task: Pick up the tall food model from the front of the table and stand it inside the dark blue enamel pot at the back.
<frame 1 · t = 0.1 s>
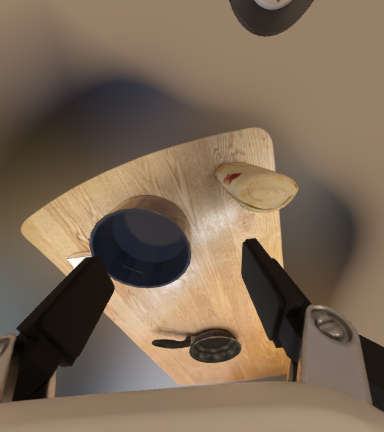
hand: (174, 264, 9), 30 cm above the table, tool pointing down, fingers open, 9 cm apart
pot: (151, 232, 43), on the table
frying pan: (201, 335, 70), on the table
food model: (229, 173, 36), on the table
container: (95, 261, 48), on the table
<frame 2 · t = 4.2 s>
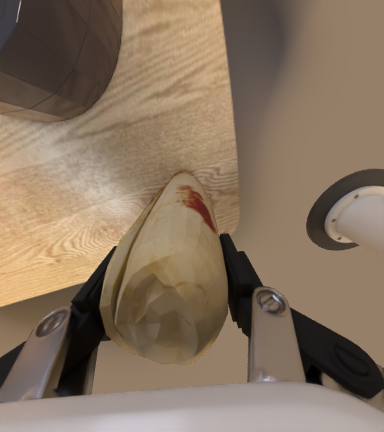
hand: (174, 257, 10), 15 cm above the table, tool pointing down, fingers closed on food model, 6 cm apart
food model: (182, 195, 24), on the table, touching gripper
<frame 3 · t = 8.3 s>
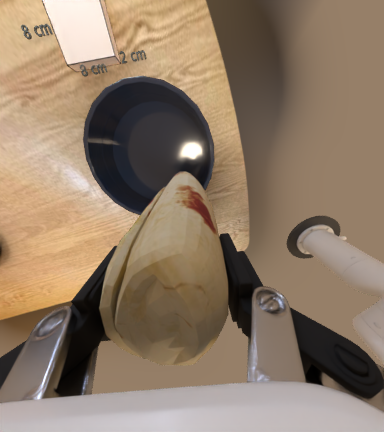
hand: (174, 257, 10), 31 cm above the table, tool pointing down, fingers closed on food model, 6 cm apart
pot: (160, 158, 36), on the table
food model: (182, 195, 24), point 16 cm above the table, touching gripper
container: (90, 42, 27), on the table
when the fingers open (16 cm above the table, at t = 12.4 s): food model stays where it is, resting on pot.
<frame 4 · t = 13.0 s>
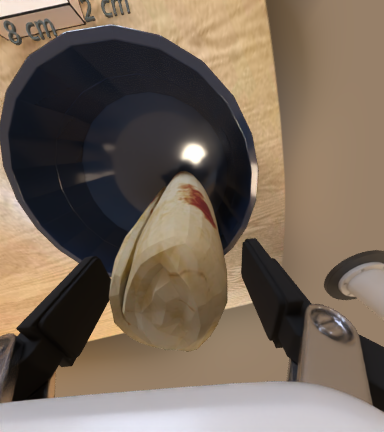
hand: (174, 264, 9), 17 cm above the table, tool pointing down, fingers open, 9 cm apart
pot: (158, 181, 23), on the table
food model: (183, 194, 24), resting on pot
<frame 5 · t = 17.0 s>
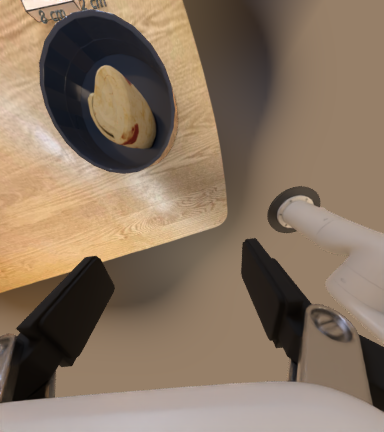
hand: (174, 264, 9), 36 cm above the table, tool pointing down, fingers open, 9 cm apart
pot: (130, 118, 36), on the table
food model: (147, 128, 36), resting on pot
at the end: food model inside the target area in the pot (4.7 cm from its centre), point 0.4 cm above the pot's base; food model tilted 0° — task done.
